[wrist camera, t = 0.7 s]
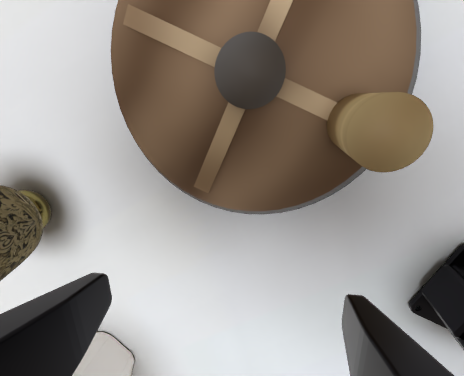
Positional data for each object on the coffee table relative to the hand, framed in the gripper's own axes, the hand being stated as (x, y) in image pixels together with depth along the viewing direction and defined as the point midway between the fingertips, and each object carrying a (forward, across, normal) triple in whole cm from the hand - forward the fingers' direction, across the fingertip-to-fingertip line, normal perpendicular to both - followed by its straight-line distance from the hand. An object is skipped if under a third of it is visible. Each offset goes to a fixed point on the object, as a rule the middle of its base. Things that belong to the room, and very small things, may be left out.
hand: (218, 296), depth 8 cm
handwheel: (+11, 0, -6) cm, 13 cm away
